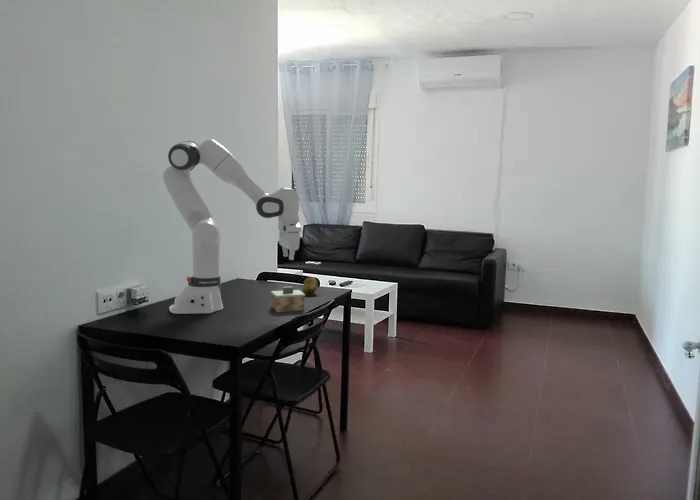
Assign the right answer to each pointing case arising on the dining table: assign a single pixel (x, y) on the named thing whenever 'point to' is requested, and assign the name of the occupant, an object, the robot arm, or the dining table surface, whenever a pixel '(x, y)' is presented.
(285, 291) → the lid
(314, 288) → the potato
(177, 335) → the dining table surface
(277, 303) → the box
